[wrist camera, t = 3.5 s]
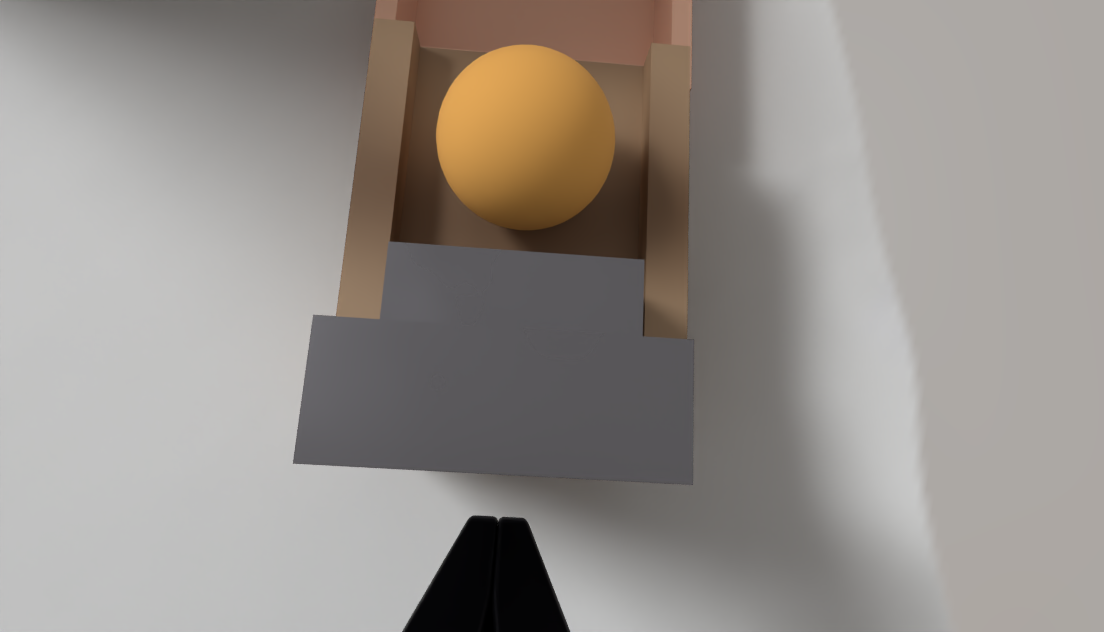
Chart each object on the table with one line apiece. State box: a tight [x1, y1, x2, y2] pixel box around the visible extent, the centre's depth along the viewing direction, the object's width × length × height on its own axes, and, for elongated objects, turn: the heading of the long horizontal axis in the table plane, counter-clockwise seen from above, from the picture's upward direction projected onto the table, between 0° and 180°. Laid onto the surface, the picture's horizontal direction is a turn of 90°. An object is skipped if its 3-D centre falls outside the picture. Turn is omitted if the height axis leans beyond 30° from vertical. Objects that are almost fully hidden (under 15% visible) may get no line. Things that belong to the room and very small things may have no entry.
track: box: [336, 18, 690, 339], centre depth 17 cm, size 10×8×5 cm
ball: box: [436, 44, 615, 230], centre depth 14 cm, size 4×4×4 cm
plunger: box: [293, 241, 694, 485], centre depth 11 cm, size 4×5×8 cm
